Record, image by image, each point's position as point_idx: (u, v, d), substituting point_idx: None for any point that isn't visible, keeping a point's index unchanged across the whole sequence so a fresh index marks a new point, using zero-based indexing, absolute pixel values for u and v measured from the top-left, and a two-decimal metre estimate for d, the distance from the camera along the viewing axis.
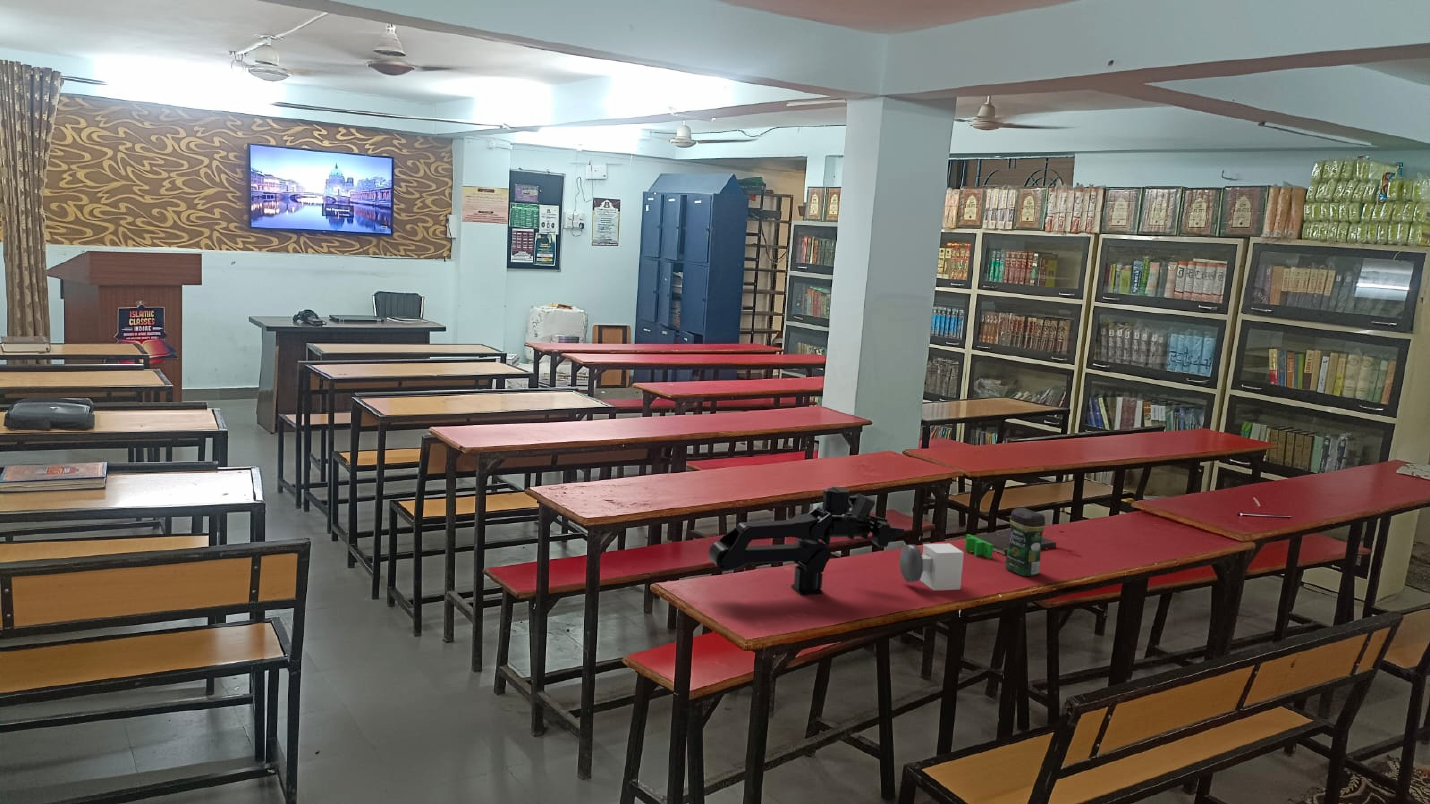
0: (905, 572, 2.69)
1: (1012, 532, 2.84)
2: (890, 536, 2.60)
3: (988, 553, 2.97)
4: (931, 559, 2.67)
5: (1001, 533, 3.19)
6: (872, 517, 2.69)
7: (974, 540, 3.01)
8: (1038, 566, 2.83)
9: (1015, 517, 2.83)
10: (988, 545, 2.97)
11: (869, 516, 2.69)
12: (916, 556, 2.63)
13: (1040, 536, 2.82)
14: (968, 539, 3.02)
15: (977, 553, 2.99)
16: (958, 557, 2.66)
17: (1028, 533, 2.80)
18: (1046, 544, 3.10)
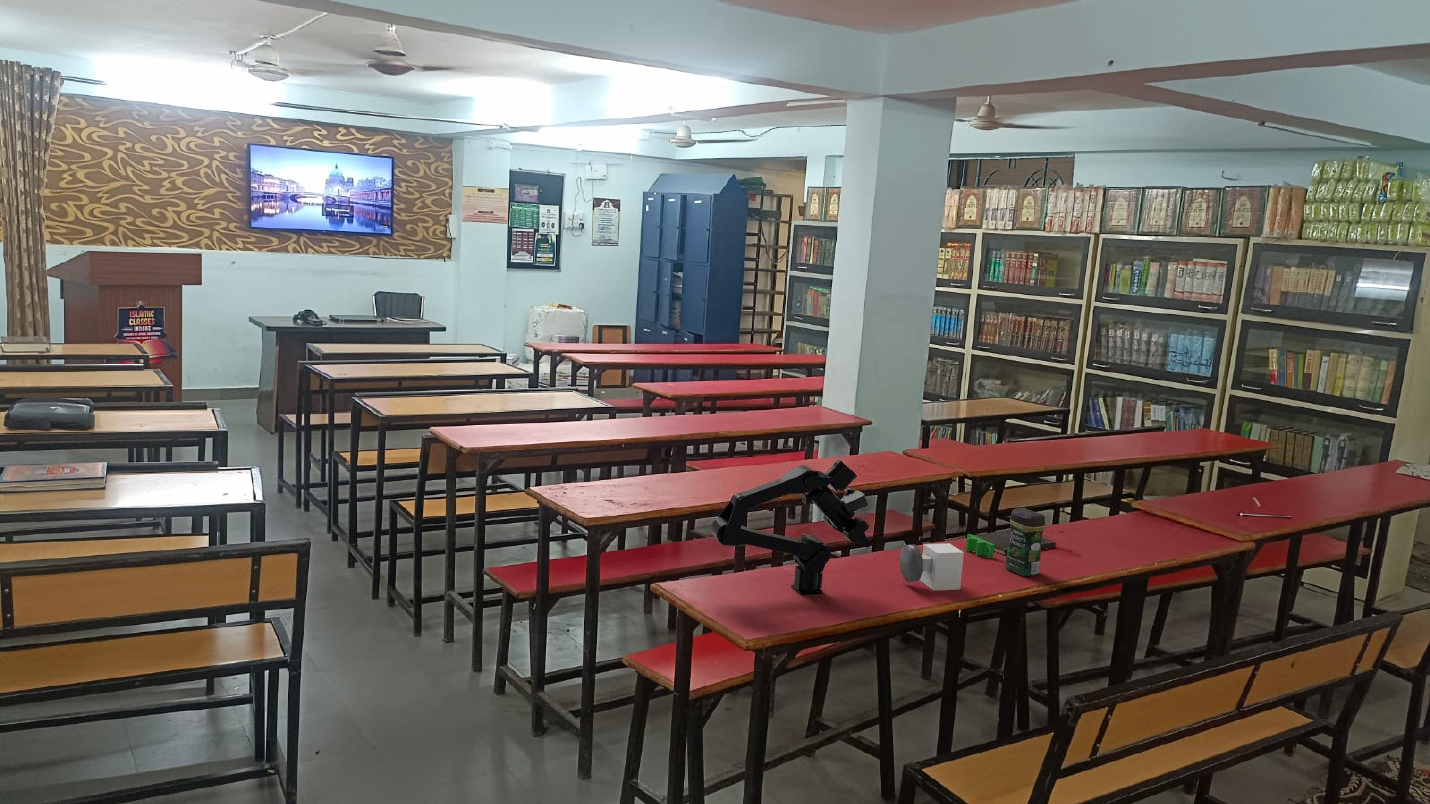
0: (905, 572, 2.69)
1: (1012, 532, 2.84)
2: (857, 538, 2.57)
3: (989, 553, 2.97)
4: (931, 559, 2.67)
5: (1001, 533, 3.19)
6: None
7: (975, 540, 3.02)
8: (1038, 566, 2.83)
9: (1015, 517, 2.83)
10: (989, 545, 2.97)
11: (850, 522, 2.64)
12: (916, 556, 2.63)
13: (1040, 536, 2.82)
14: (969, 539, 3.02)
15: (978, 553, 2.99)
16: (958, 557, 2.66)
17: (1028, 533, 2.80)
18: (1046, 544, 3.10)
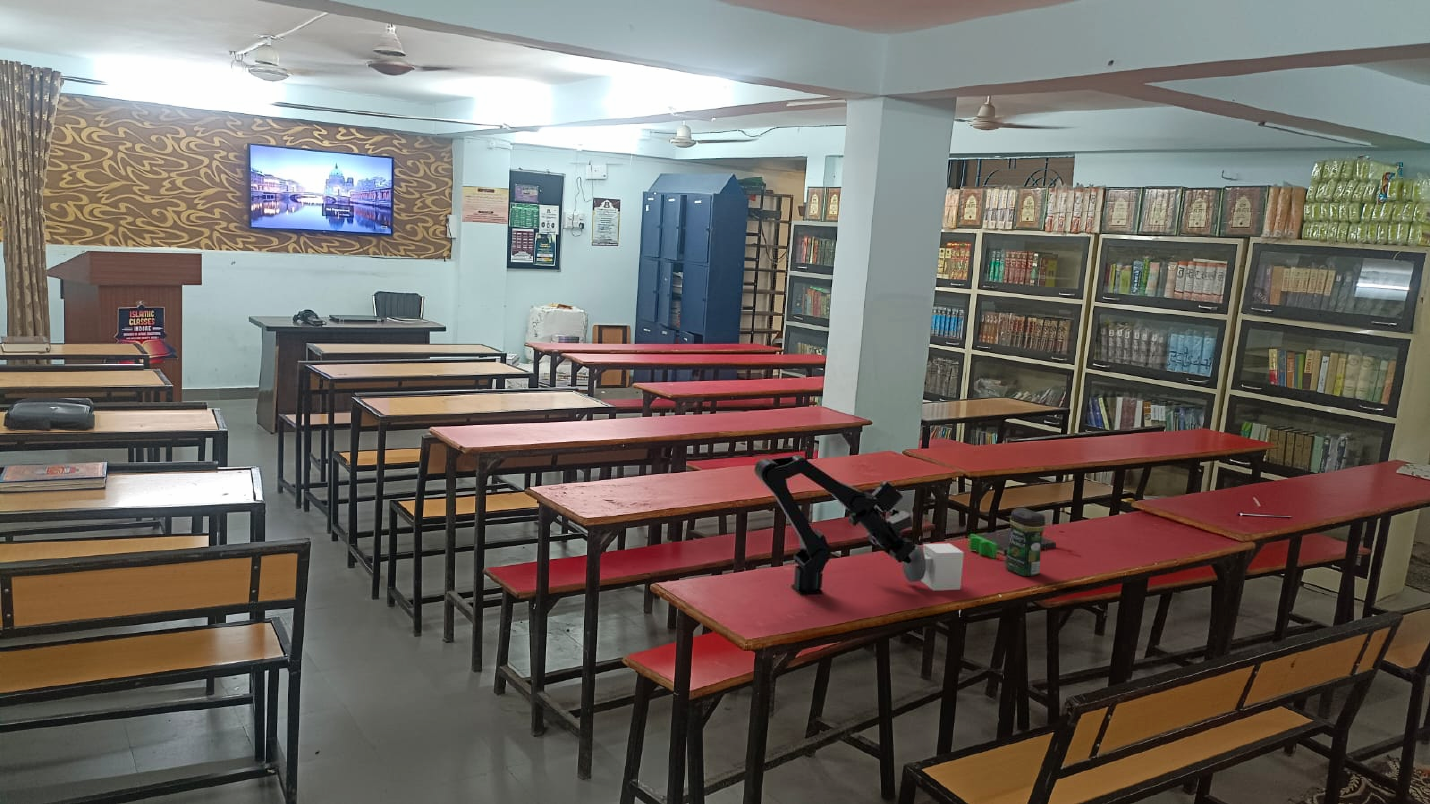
0: (907, 572, 2.69)
1: (1012, 532, 2.84)
2: None
3: (992, 552, 2.98)
4: None
5: (1001, 533, 3.19)
6: None
7: (978, 540, 3.02)
8: (1038, 566, 2.83)
9: (1015, 517, 2.83)
10: (992, 544, 2.98)
11: None
12: (919, 556, 2.63)
13: (1040, 536, 2.82)
14: (972, 539, 3.03)
15: (981, 552, 2.99)
16: (958, 557, 2.66)
17: (1028, 533, 2.80)
18: (1046, 544, 3.10)
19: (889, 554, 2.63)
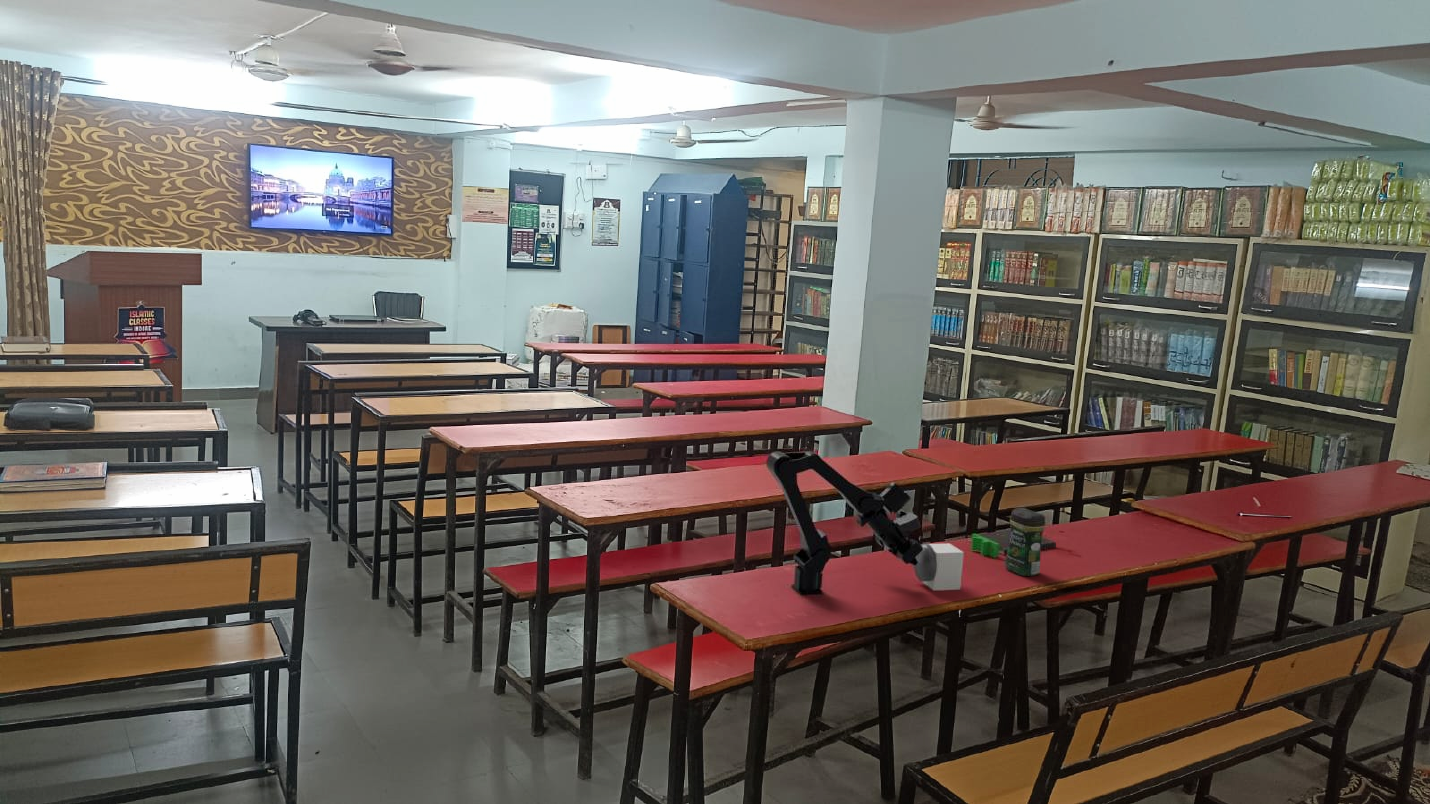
0: (918, 571, 2.70)
1: (1012, 532, 2.84)
2: None
3: (994, 552, 2.98)
4: None
5: (1001, 533, 3.19)
6: None
7: (980, 539, 3.03)
8: (1038, 566, 2.83)
9: (1015, 517, 2.83)
10: (994, 544, 2.98)
11: None
12: (930, 556, 2.64)
13: (1040, 536, 2.82)
14: (974, 538, 3.03)
15: (983, 552, 3.00)
16: (958, 557, 2.66)
17: (1028, 533, 2.80)
18: (1046, 544, 3.10)
19: (896, 555, 2.64)
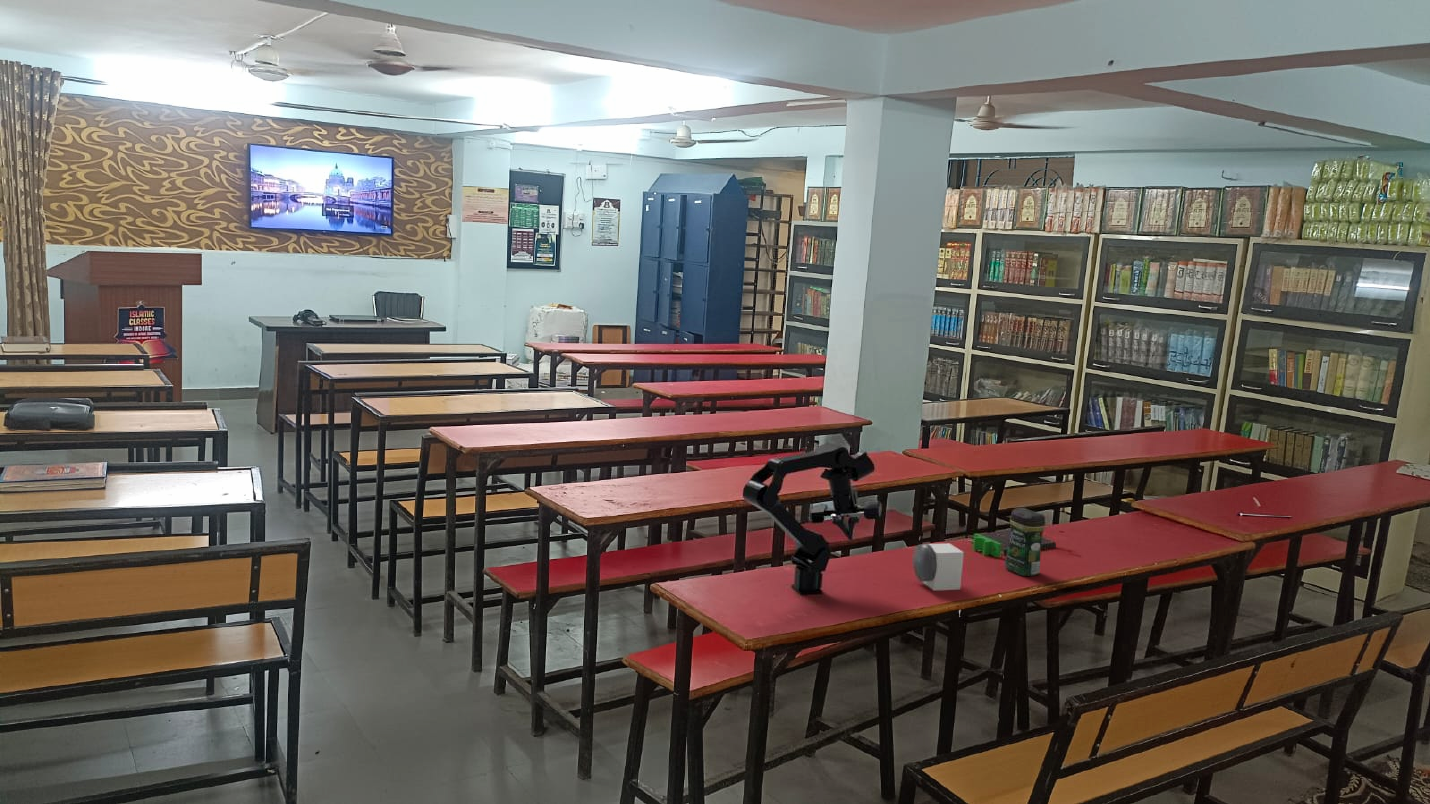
0: (918, 571, 2.70)
1: (1012, 532, 2.84)
2: None
3: (996, 552, 2.99)
4: None
5: (1001, 533, 3.19)
6: (847, 522, 2.66)
7: (982, 539, 3.03)
8: (1038, 566, 2.83)
9: (1015, 517, 2.83)
10: (996, 544, 2.99)
11: (846, 519, 2.66)
12: (930, 556, 2.64)
13: (1040, 536, 2.82)
14: (976, 538, 3.03)
15: (985, 552, 3.00)
16: (958, 557, 2.66)
17: (1028, 533, 2.80)
18: (1046, 544, 3.10)
19: (850, 521, 2.61)
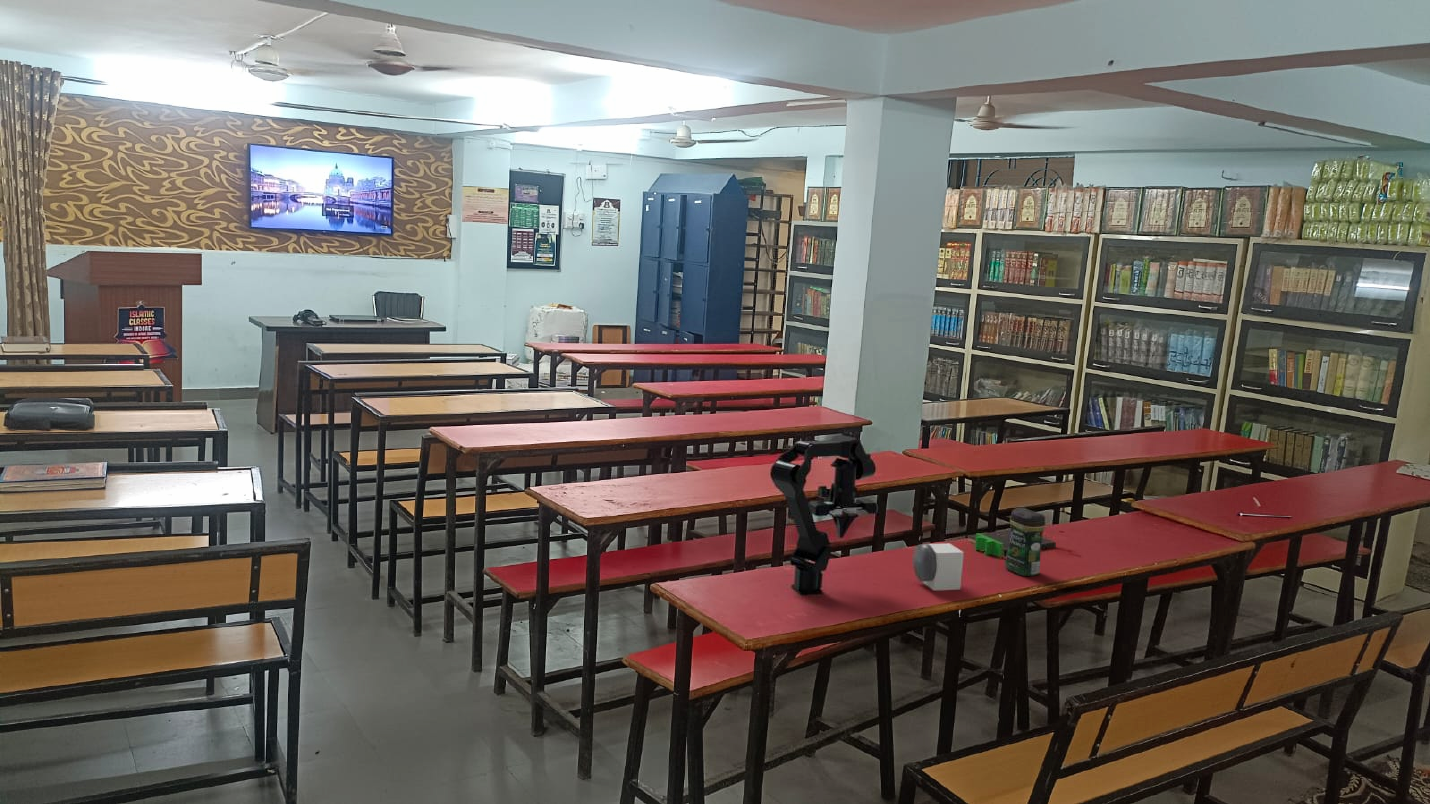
0: (918, 571, 2.70)
1: (1012, 532, 2.84)
2: None
3: (998, 552, 2.99)
4: None
5: (1001, 533, 3.19)
6: None
7: (984, 539, 3.03)
8: (1038, 566, 2.83)
9: (1015, 517, 2.83)
10: (998, 544, 2.99)
11: None
12: (930, 556, 2.64)
13: (1040, 536, 2.82)
14: (978, 538, 3.04)
15: (987, 552, 3.00)
16: (958, 557, 2.66)
17: (1028, 533, 2.80)
18: (1046, 544, 3.10)
19: (852, 515, 2.65)
